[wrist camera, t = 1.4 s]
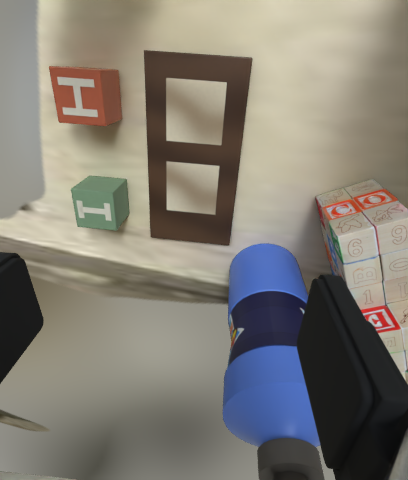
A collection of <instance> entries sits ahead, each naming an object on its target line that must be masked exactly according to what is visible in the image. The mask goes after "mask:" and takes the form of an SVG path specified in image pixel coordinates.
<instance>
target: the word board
mask: <svg viewBox="0 0 408 480" xmlns="http://www.w3.org/2000/svg"><path fill="white" fill-rule="evenodd" d="M144 62H145V90H146V118H147V145H148V173H149V201H150V229H151V237H153V238H163V239H172V240H182V241H192V242H202V243H211V244H221V245H229V243H230V235H231V227H232V219H233V211H234V203H235V195H236V187H237V178H238V170H239V162H240V154H241V146H242V138H243V130H244V122H245V114H246V106H247V97H248V89H249V81H250V73H251V65H252V58H249V57H234V56H220V55H205V54H191V53H176V52H162V51H147V50H145V51H144Z"/></svg>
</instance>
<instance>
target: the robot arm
mask: <svg viewBox="0 0 408 480" xmlns="http://www.w3.org/2000/svg"><path fill="white" fill-rule="evenodd" d="M42 326H43V316H42V313H41V310H40V307H39V304H38V301H37V298H36V294H35V292H34V288H33V285H32V282H31V279H30V276H29V273H28V270H27V267H26V263H25V261H24V260H23V259H22V258H20V256H19V255H18V254H16V253H5V252H0V383H1V382H2V381H3V379H4V378H5V377H6V375H7V374H8V373H9V371H10V370H11V369H12V367H13V366H14V365H15V363H16V362H17V360H18V359H19V358H20V357H21V355H22V354H23V353H24V351H25V350H26V349H27V347H28V346H29V345H30V343H31V342H32V341H33V339H34V338H35V337H36V335H37V334H38V333H39V331H40V330H41V328H42ZM297 351H298V356H299V360H300V364H301V368H302V372H303V376H304V380H305V384H306V388H307V392H308V396H309V400H310V404H311V408H312V413H313V417H314V421H315V425H316V429H317V433H318V437H319V441H320V445H321V449H322V453H323V457H324V461H325V464H326V466H327V467H328V468H331V469H333V472H334V475H335V479H336V480H408V384H407V383H406V381H405V379H404V377H403V376H402V374H401V372H400V370H399V369H398V367H397V365H396V364H395V362H394V360H393V358H392V357H391V355H390V353H389V351H388V350H387V348H386V346H385V344H384V343H383V341H382V339H381V338H380V336H379V334H378V332H377V331H376V329H375V327H374V326H373V325H372V323H371V322H369V321H366V319H365V317H364V315H363V314H362V312H361V310H360V308H359V306H358V305H357V303H356V301H355V299H354V297H353V296H352V294H351V292H350V290H349V289H348V287H347V285H346V283H345V281H344V280H343V278H342V277H341V276H338V275H324V274H322V275H320V276H319V278H318V279H313V281H312V285H311V288H310V292H309V296H308V300H307V304H306V307H305V311H304V315H303V319H302V323H301V326H300V330H299V334H298V338H297ZM0 480H76V479H67V478H57V477H48V476H39V475H30V474H21V473H12V472H2V471H0Z"/></svg>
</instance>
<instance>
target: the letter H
mask: <svg viewBox="0 0 408 480" xmlns="http://www.w3.org/2000/svg"><path fill="white" fill-rule="evenodd" d="M49 70H50V75H51V81H52V87H53V92H54V98H55V103H56V109H57V114H58V120H59V122H60V123H72V124H84V125H96V126H107V125H110V124H112V123H114V122H117V121H119V120H121V119H122V111H121V98H120V85H119V71H118V70H111V69H97V68H84V67H59V66H49Z"/></svg>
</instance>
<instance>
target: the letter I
mask: <svg viewBox="0 0 408 480" xmlns="http://www.w3.org/2000/svg"><path fill="white" fill-rule="evenodd" d="M71 192H72V198H73V203H74V209H75V215H76V220H77V226H78V227H86V228H96V229H105V230H115V231H116V230H117V229H118V228H119V227H120V225H121V224H122V223H123V221H124V220H125V219H126V217H127V216H128V215H129V204H128V191H127V179H120V178H109V177H99V176H88V177H87V178H85V179H84V180H83V181H81V182H80V183H79V184H77V185H76V186H74V187H73V188H72V189H71Z"/></svg>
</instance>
